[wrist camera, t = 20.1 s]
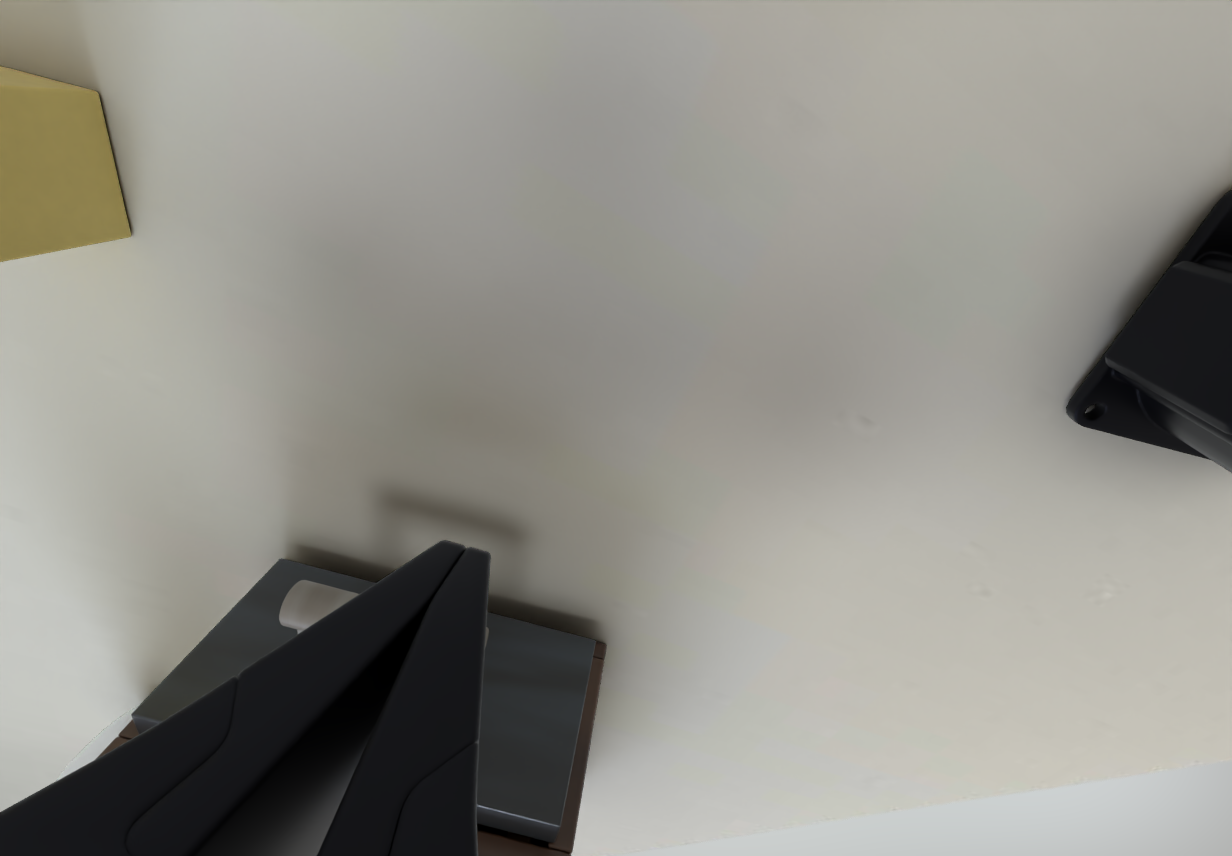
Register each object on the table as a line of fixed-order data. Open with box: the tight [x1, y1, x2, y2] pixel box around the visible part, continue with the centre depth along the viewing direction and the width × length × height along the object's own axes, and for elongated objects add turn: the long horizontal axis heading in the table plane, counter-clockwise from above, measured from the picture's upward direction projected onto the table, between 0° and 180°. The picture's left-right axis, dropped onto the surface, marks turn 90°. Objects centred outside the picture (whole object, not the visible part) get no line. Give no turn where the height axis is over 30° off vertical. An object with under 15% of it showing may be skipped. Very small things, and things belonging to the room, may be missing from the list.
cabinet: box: [95, 642, 607, 856], centre depth 23 cm, size 14×15×9 cm
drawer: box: [131, 558, 596, 843], centre depth 21 cm, size 17×13×7 cm
